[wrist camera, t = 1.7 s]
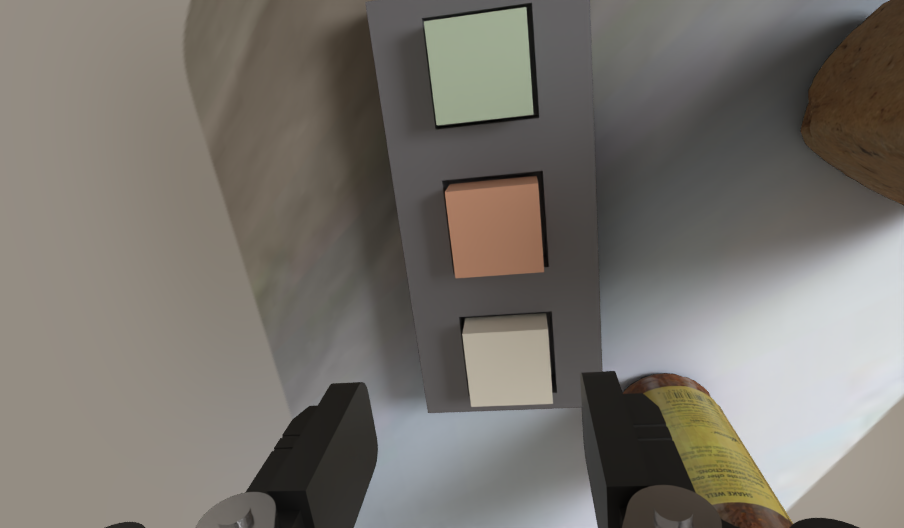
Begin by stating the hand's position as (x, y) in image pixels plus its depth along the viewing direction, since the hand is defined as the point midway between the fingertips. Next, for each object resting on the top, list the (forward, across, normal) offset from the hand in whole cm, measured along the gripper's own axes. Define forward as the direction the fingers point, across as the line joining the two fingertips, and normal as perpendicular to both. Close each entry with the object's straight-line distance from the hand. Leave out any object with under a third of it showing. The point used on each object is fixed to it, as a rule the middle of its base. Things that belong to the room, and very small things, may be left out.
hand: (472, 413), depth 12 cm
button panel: (+19, 0, 0) cm, 19 cm away
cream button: (+17, 0, +7) cm, 18 cm away
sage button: (+17, 0, -7) cm, 18 cm away
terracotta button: (+17, 0, 0) cm, 17 cm away
